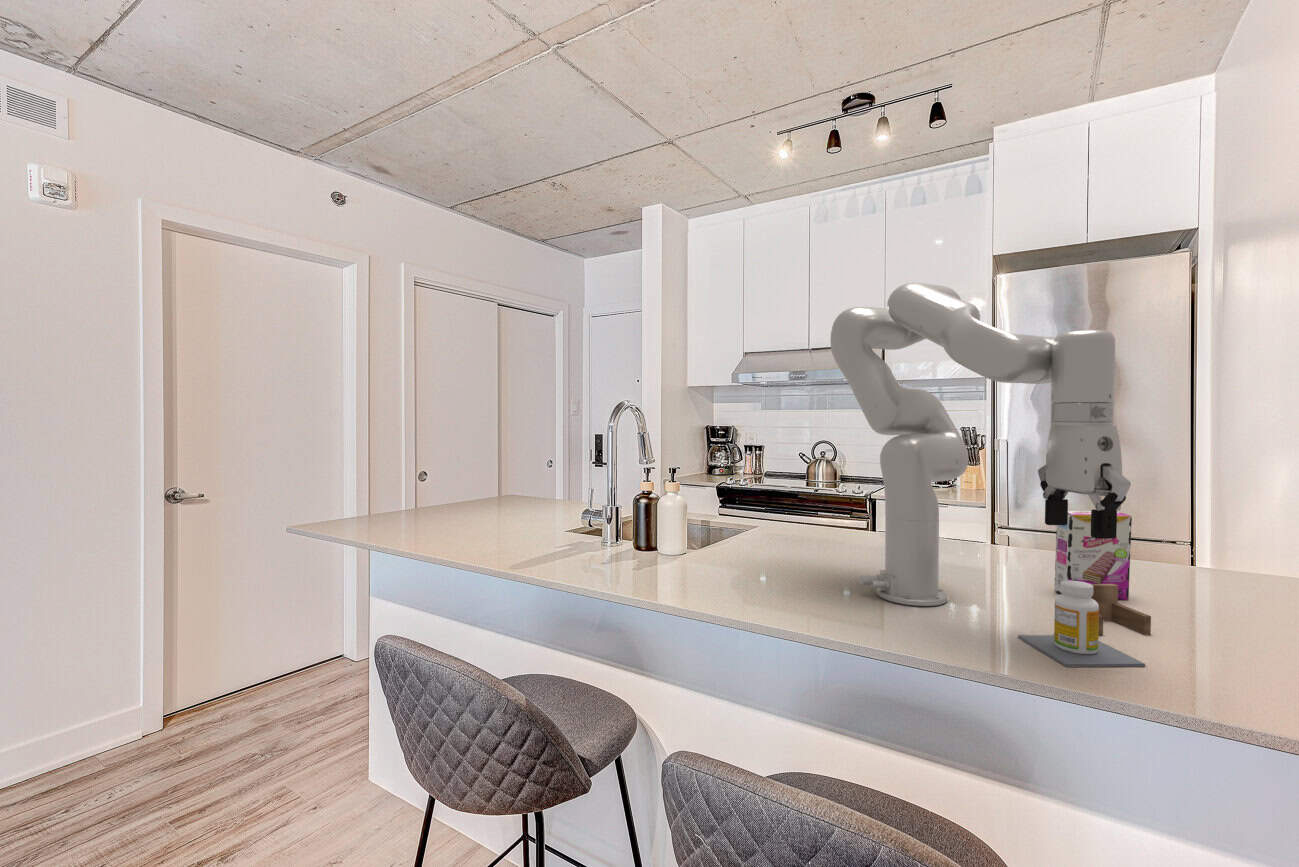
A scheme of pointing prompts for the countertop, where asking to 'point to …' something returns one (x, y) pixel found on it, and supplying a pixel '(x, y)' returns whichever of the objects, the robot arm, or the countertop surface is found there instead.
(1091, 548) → the candy bar box
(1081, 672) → the countertop surface
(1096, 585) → the shelf slot
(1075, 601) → the supplement bottle
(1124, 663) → the slate mat
